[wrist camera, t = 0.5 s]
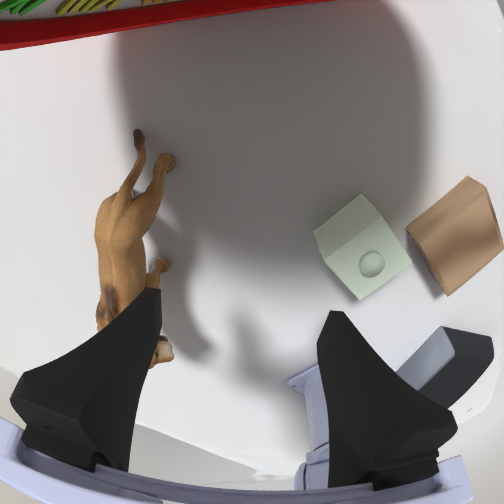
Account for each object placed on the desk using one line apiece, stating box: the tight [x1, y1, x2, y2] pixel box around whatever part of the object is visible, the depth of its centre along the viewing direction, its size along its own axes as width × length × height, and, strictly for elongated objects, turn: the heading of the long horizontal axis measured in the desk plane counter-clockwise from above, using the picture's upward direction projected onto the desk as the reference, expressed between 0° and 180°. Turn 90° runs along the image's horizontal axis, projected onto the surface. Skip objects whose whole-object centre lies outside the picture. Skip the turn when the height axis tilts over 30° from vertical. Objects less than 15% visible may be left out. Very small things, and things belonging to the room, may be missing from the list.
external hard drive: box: [395, 326, 494, 409], centre depth 31 cm, size 13×19×4 cm
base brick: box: [406, 176, 504, 297], centre depth 20 cm, size 7×7×2 cm
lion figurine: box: [94, 129, 175, 369], centre depth 18 cm, size 15×5×9 cm, turn 178°
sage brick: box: [313, 193, 413, 300], centre depth 20 cm, size 4×4×4 cm
